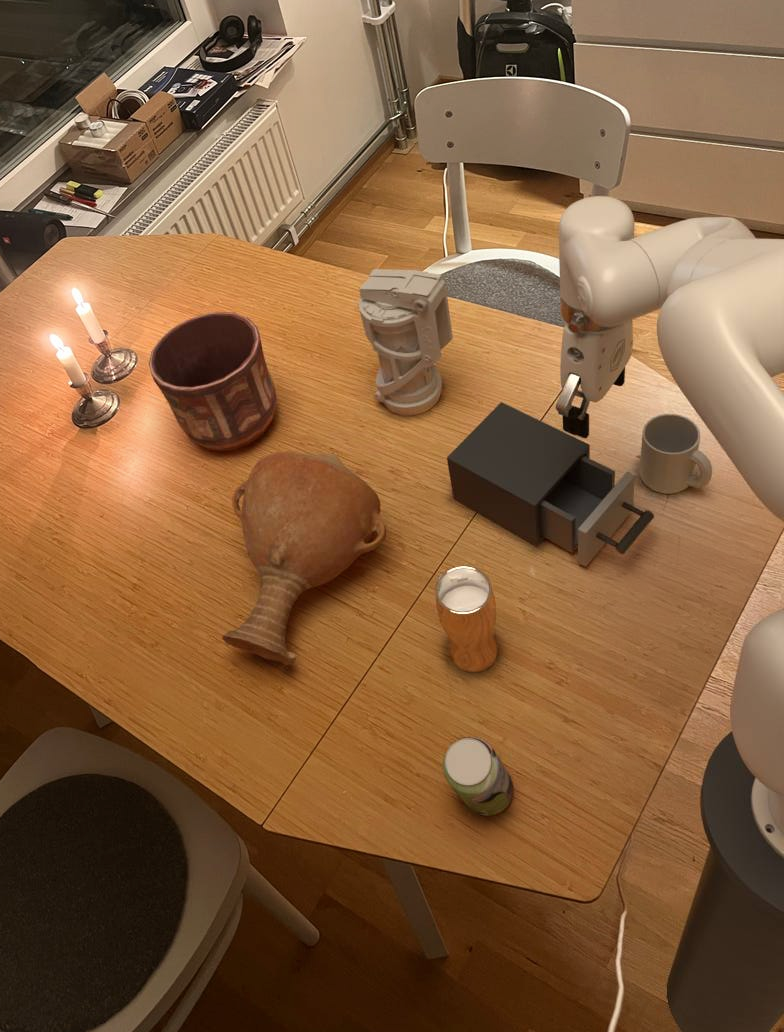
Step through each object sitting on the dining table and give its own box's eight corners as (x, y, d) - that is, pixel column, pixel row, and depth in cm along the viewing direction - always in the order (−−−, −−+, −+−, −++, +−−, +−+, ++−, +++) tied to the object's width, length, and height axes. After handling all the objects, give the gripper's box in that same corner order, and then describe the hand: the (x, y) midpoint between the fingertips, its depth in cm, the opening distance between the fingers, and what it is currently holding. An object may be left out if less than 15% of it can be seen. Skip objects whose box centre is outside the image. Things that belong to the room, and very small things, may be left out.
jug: (419, 464, 124) (352, 671, 110) (364, 505, 141) (300, 690, 127) (291, 398, 121) (204, 602, 107) (249, 448, 138) (170, 630, 124)
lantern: (369, 408, 150) (340, 292, 132) (398, 365, 155) (374, 248, 137) (440, 428, 144) (420, 309, 126) (468, 383, 149) (453, 262, 131)
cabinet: (589, 487, 130) (589, 444, 123) (537, 547, 126) (534, 505, 119) (504, 444, 139) (501, 401, 132) (453, 499, 134) (446, 457, 127)
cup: (659, 447, 132) (664, 405, 126) (723, 482, 126) (731, 440, 120) (628, 477, 130) (631, 436, 123) (691, 514, 124) (697, 473, 117)
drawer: (661, 524, 123) (665, 489, 117) (613, 583, 118) (615, 549, 113) (549, 467, 133) (547, 432, 127) (501, 519, 129) (498, 485, 123)
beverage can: (524, 787, 105) (519, 745, 96) (486, 839, 102) (477, 800, 94) (479, 754, 109) (470, 710, 100) (441, 803, 106) (429, 762, 97)
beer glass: (437, 641, 120) (423, 579, 109) (484, 618, 120) (474, 554, 109) (462, 684, 115) (450, 625, 104) (511, 660, 116) (504, 598, 105)
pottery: (251, 477, 146) (218, 401, 133) (165, 450, 154) (127, 375, 141) (304, 400, 155) (279, 321, 141) (221, 378, 163) (190, 301, 150)
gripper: (591, 362, 96) (590, 465, 108) (660, 264, 104) (652, 371, 116) (527, 342, 100) (533, 443, 113) (598, 250, 108) (597, 354, 120)
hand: (594, 407), depth 114 cm, fingers open, 9 cm apart
